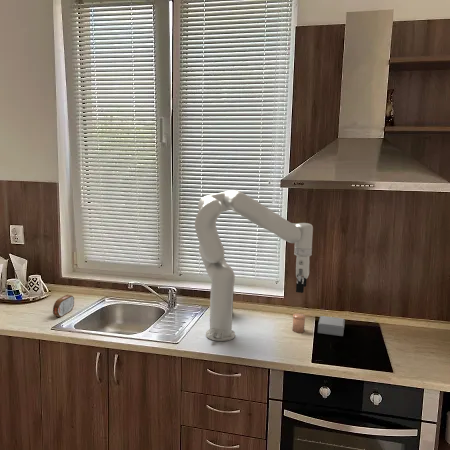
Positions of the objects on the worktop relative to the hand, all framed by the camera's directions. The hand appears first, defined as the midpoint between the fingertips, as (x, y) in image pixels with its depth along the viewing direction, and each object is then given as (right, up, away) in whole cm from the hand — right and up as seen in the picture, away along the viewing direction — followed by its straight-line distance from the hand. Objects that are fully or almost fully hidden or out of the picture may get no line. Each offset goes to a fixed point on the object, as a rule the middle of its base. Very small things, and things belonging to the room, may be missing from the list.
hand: (301, 289), depth 200 cm
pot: (-1, -19, +3) cm, 19 cm away
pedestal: (+14, -19, +5) cm, 24 cm away
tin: (-110, -14, +15) cm, 112 cm away
